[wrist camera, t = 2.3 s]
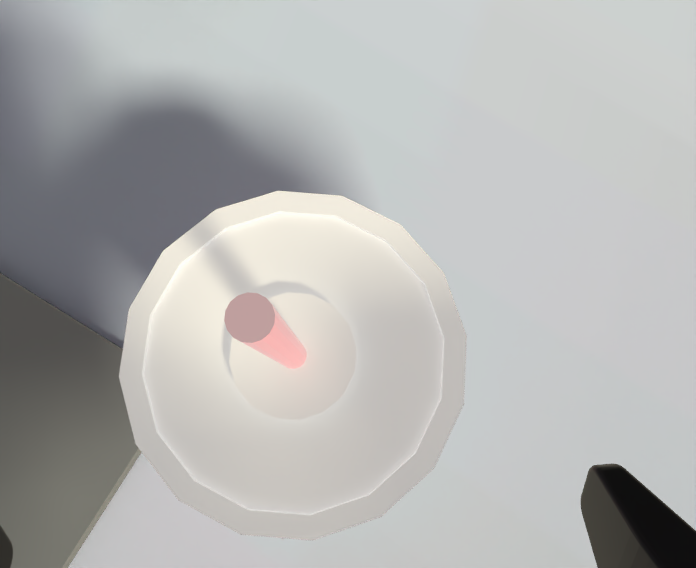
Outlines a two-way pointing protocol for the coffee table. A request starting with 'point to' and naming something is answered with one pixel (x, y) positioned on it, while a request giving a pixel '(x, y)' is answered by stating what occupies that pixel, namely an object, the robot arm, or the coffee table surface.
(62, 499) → the coaster
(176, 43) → the coffee table surface
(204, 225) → the beverage cup
